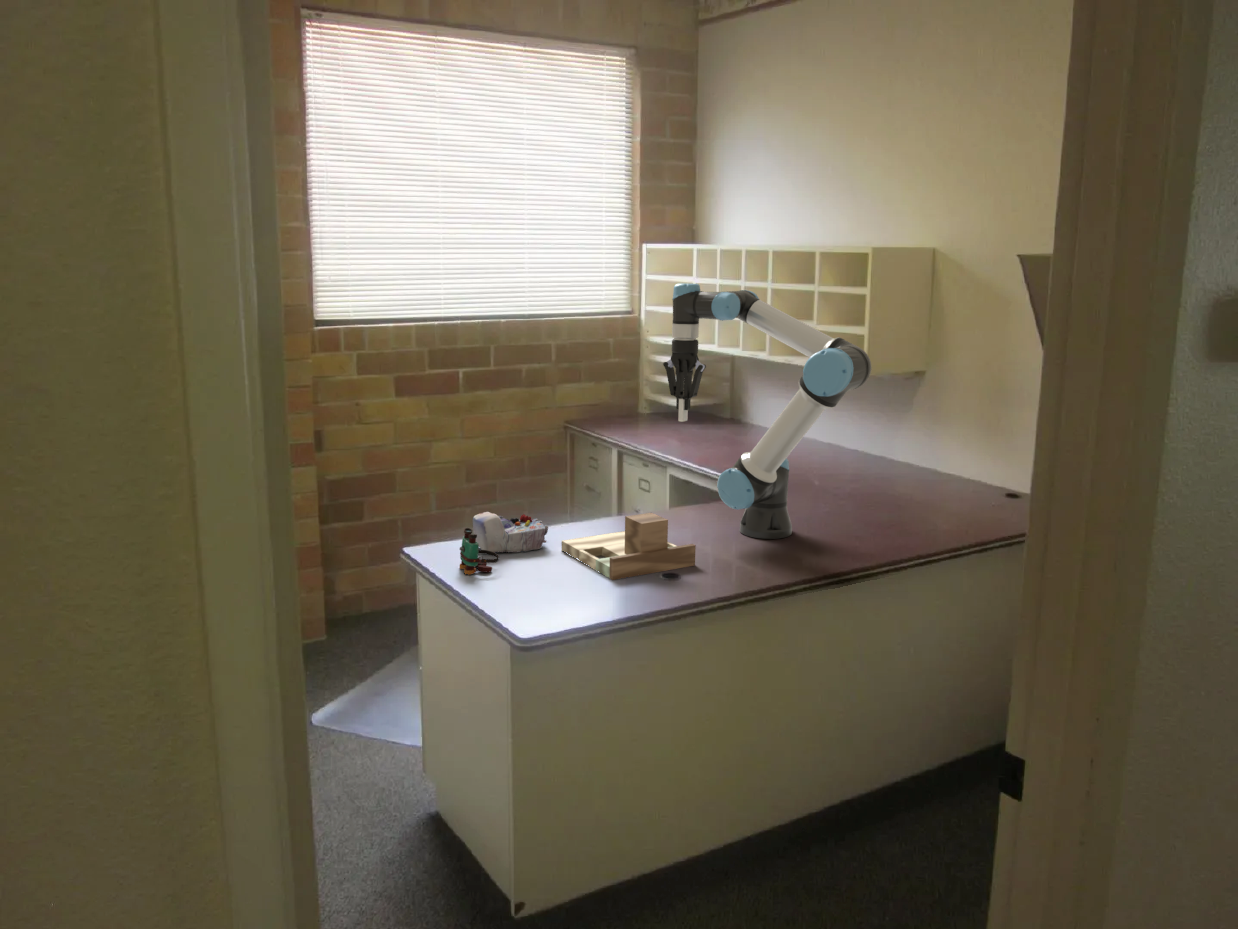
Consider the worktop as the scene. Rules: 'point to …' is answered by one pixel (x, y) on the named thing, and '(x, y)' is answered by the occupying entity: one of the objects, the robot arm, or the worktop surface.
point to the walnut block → (645, 533)
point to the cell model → (508, 533)
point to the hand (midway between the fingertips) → (682, 420)
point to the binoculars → (474, 555)
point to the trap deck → (626, 556)
